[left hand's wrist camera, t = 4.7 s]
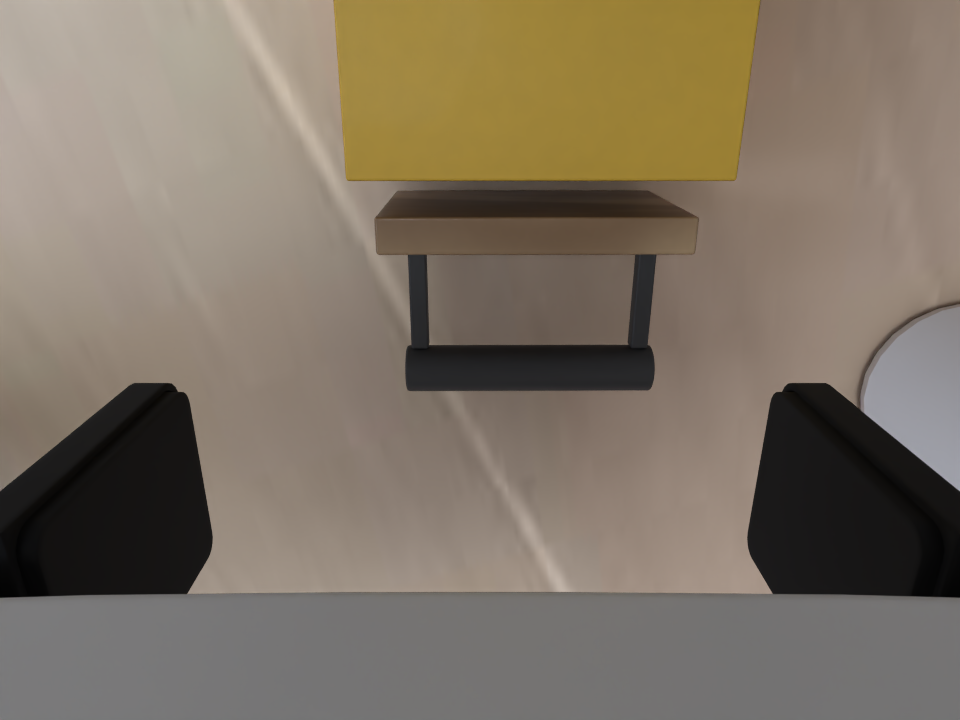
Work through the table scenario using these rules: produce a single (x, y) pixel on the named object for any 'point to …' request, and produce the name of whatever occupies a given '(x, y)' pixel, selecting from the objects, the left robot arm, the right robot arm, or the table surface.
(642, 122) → the cabinet
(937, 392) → the mug
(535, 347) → the drawer
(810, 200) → the table surface
